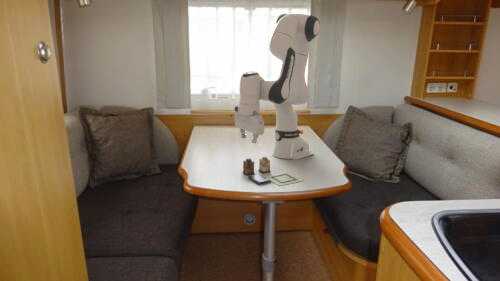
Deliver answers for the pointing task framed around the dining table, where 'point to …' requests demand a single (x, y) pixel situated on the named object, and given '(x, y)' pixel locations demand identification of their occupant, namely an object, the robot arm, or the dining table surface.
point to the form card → (284, 178)
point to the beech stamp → (264, 165)
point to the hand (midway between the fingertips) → (248, 140)
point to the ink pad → (259, 179)
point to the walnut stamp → (248, 167)
